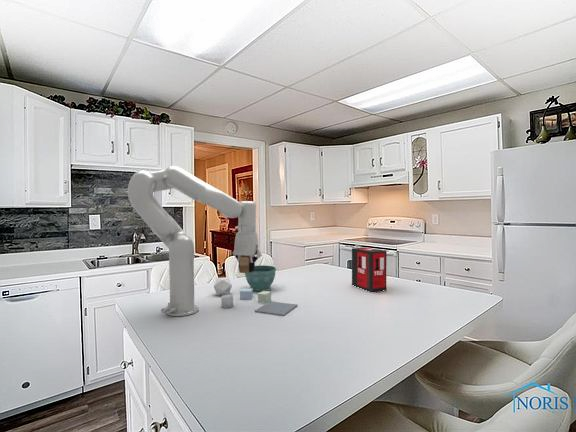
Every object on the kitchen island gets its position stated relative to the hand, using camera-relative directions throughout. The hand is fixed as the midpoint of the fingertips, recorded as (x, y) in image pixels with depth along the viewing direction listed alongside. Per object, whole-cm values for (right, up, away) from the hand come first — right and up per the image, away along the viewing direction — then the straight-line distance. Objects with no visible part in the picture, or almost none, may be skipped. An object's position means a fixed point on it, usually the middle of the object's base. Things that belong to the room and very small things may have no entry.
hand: (246, 270), depth 143 cm
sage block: (+8, -15, +4) cm, 17 cm away
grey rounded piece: (-8, -15, -3) cm, 17 cm away
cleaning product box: (+60, -14, +26) cm, 67 cm away
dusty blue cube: (-1, -15, +9) cm, 17 cm away
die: (-13, -15, +16) cm, 25 cm away
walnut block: (0, -1, 0) cm, 1 cm away
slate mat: (+14, -15, -7) cm, 21 cm away
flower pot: (+4, -14, +25) cm, 29 cm away
